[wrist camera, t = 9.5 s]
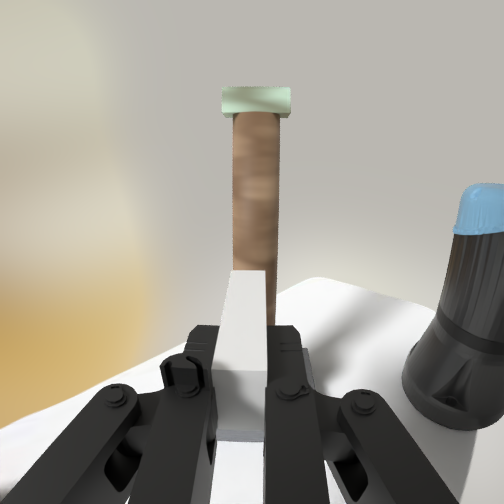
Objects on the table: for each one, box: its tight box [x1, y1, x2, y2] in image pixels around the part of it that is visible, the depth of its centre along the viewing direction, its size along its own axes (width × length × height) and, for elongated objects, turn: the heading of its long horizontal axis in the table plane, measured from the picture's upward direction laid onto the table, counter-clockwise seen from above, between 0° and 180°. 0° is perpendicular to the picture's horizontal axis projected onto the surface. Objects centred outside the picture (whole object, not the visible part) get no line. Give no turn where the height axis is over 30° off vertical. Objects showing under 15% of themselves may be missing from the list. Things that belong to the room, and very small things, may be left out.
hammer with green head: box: [222, 87, 291, 326], centre depth 26 cm, size 5×4×26 cm
